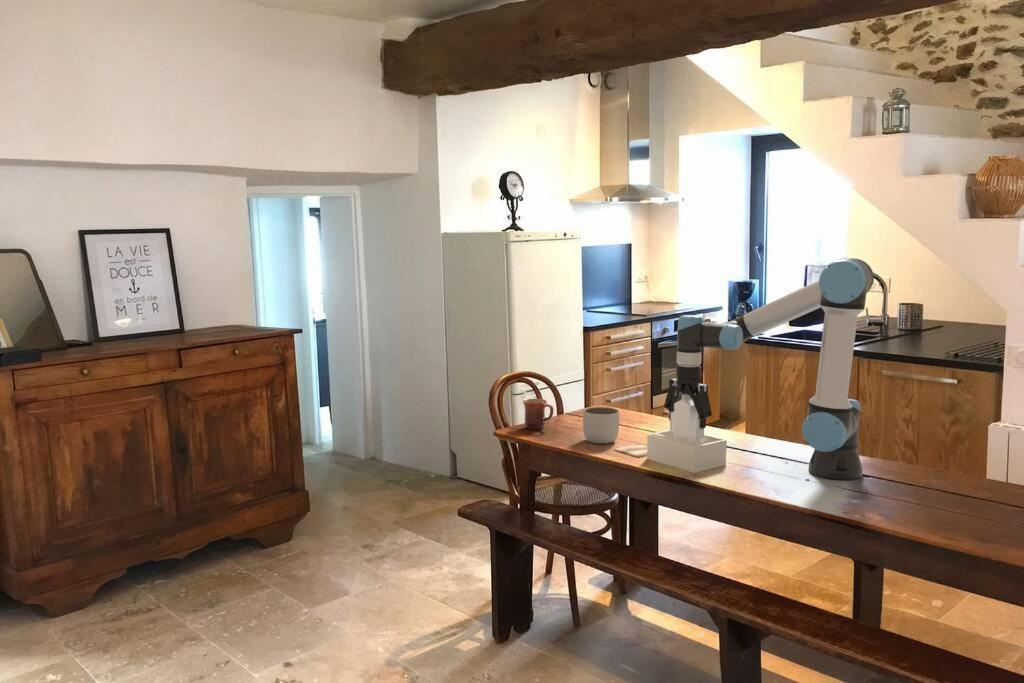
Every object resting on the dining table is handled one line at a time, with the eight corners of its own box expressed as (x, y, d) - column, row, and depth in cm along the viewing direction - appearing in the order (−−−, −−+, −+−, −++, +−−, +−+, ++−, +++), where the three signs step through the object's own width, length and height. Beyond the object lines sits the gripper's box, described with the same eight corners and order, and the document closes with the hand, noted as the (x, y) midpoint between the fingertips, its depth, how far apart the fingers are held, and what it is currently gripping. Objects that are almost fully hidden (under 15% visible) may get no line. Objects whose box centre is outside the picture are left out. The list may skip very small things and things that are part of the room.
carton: (725, 465, 258) (726, 438, 257) (694, 473, 249) (695, 445, 248) (678, 451, 274) (678, 426, 272) (646, 458, 265) (647, 433, 264)
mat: (661, 452, 273) (662, 450, 273) (638, 457, 266) (638, 455, 266) (637, 445, 282) (637, 443, 281) (614, 450, 275) (614, 448, 275)
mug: (518, 429, 305) (518, 401, 303) (530, 424, 312) (530, 397, 311) (546, 433, 298) (546, 405, 297) (558, 428, 306) (558, 401, 304)
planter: (618, 446, 280) (618, 415, 278) (581, 445, 282) (581, 413, 280) (619, 437, 292) (619, 407, 291) (584, 436, 294) (584, 406, 292)
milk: (699, 462, 261) (702, 393, 258) (687, 465, 257) (690, 396, 254) (683, 458, 266) (685, 390, 263) (671, 461, 262) (674, 393, 259)
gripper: (725, 368, 251) (723, 440, 254) (669, 359, 269) (667, 426, 271) (709, 371, 246) (707, 443, 249) (653, 361, 264) (651, 429, 267)
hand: (686, 434), depth 260 cm, fingers open, 10 cm apart
